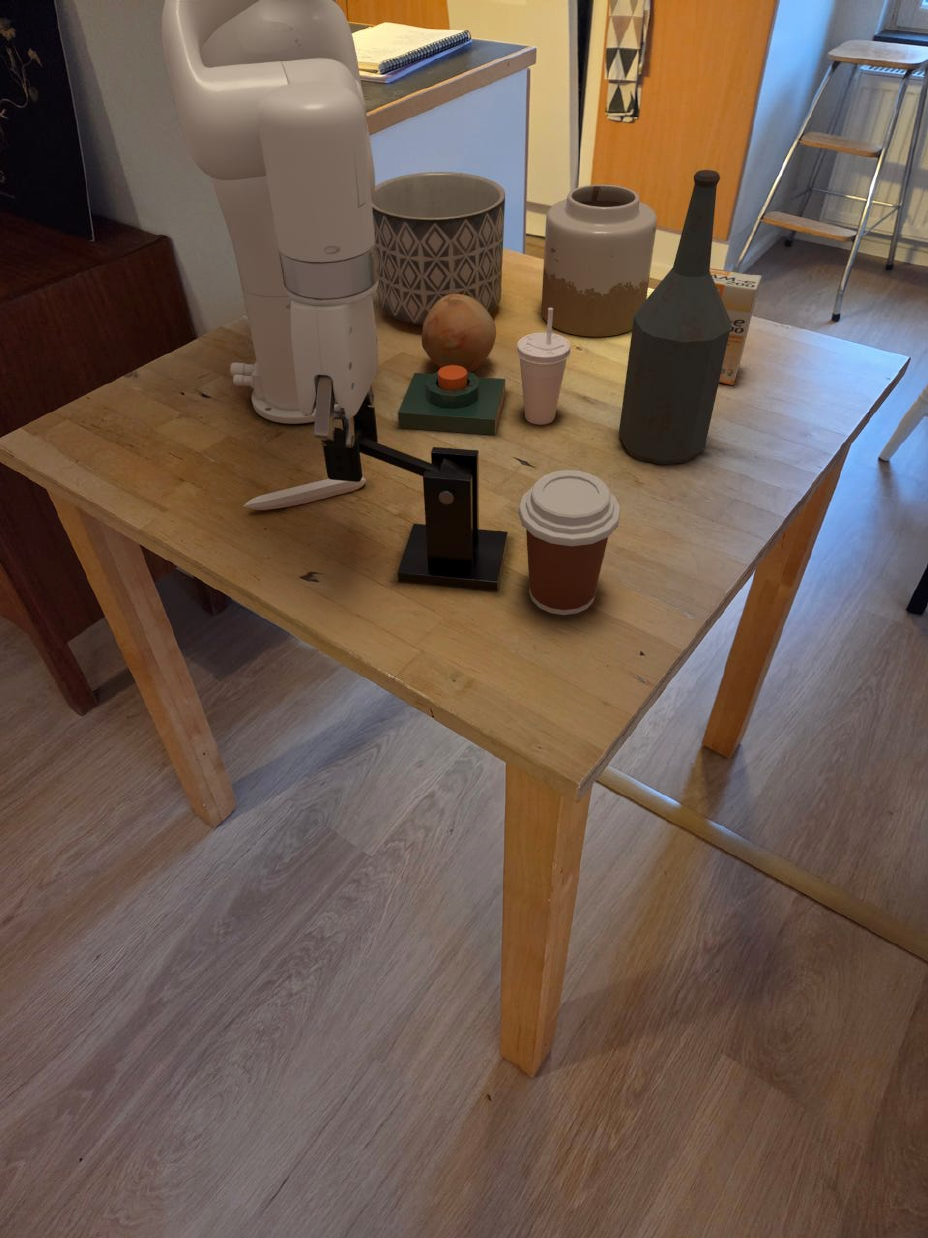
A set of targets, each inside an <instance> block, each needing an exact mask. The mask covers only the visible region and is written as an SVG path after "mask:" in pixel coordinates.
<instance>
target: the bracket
mask: <svg viewBox="0 0 928 1238" xmlns="http://www.w3.org/2000/svg"><path fill="white" fill-rule="evenodd" d="M479 453H480V451H479V450H478V449H468V448H467V449H465V448H453V447H440V446H439V447H438V446H432V448H431V451H430V461H431V462H430V463H431V464H434V465H437V466H439V467H440V466H441V463H442V461H443V458H445V459H448V460H450V461H453V462H456V463H458V464H461V465H463V466H466V467H469V468H471V472H470V474H458V473H446V472H433V471H425V472H424V475H423V476H422V486H423V487H422V488H423V503H424V504H423V505H424V521H425V523H413V524H412V527H411V529H410V532H409V536H408V539H407V542H406V545H405V547H404V551H403V554H402V556H401V557H402V558H401V560H400V563H399V566H398V569H397V573H396V574H397V582H398V583H399V582H400V583H401V582H402V583H411V584H421V585H428V586H429V585H430V586H440V587H451V588H460V589H470V590H480V591H481V590H482V591H492V592H498V590H499V585H500V580H501V574H502V571H503V570H502V569H503V564H504V561H505V560H504V559H505V554H506V549H507V544H508V534H509V533H508V531H506V530H505V531H504V530H492V529H481V528H480V500H479V499H480V495H479V494H480V489H479V487H480V484H479V483H480V482H479V480H480V479H479V478H480V474H479V471H480V469H479V466H480V465H479V464H480V463H479V460H480V459H479V455H480V454H479Z"/></svg>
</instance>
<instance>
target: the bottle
mask: <svg viewBox="0 0 928 1238" xmlns="http://www.w3.org/2000/svg"><path fill="white" fill-rule="evenodd" d="M720 180H721V176H720V173H719V172H718V171H716V170H712V169H701V170H698V171H696V172H695V173H694V175H693V184H694V186H693V188H692V192H691V195H690V200H689V204H688V207H687V212H686V215H685V219H684V223H683V227H682V231H681V234H680V239H679V242H678V246H677V250H676V254H675V257H674V258H675V259H674V262H673V265H672V267H671V269H670V270H669V271H668V273H667V274H666V275H665V276H664V277H663V279H662V280H660V282H659V283H658V284H657V286H656V287H655V288H654V289H653V291H652V292H651V293H650V294H649V295H648V296H647V299H646V300H645V302H644V303H643V304H642V305H641V306H640V308H639V309H638V310H637V311H636V313H635V316H634V320H633V327H632V330H631V337H630V344H629V352H628V360H627V365H626V372H625V373H626V376H625V382H624V389H623V398H622V404H621V412H620V420H619V429H618V435H619V437H620V439H621V441H622V443H623V446H624V447H625V449H626V451H627V452H628V454H630V455H631V456H632V457H634V458H636V459H637V460H640V461H641V460H642V461H645V462H648V463H653V464H656V465H657V464H658V465H660V466H662V465H663V466H664V465H673V464H674V465H675V464H683V463H687V462H688V461H689V460H691V459H692V458H694V457H695V456H696V455H698V454H699V453H701V452H702V451H703V450H704V449H705V448H706V444H707V439H708V434H709V430H710V425H711V421H712V417H713V412H714V406H715V403H716V398H717V394H718V393H717V392H718V388H719V385H720V382H719V380H720V375H721V370H722V366H723V361H724V356H725V352H726V347H727V342H728V338H729V333H730V328H731V324H732V323H731V321H730V318H729V316H728V313H727V311H726V309H725V306H724V304H723V302H722V299H721V297H720V294H719V292H718V290H717V287H716V285H715V282H714V280H713V278H712V275H711V273H710V268H711V259H712V249H713V247H712V246H713V236H714V235H713V234H714V226H715V225H714V224H715V223H714V222H715V211H716V199H717V189H718V188H717V187H718V184H719V182H720Z"/></svg>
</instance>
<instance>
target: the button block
mask: <svg viewBox="0 0 928 1238" xmlns="http://www.w3.org/2000/svg"><path fill="white" fill-rule="evenodd" d="M505 396H506V379H505V378H500V377H499V378H497V377H483V376H477V375H476V374H475V373H473V372H468V371H467V387H466V388H464V389H461V390H456V391H450V390H444V389H441V388H439V386H438V371H436V372H434V373H421V372H414V373H413V374H412V377H411V380H410V382H409V384H408V387H407V389H406V392H405V394H404V397H403V399H402V401H401V404H400V407H399V408H398V411H397V418H398V428H399V429H409V430H421V431H422V430H423V431H434V432H435V431H436V432H449V433H463V434H476V435H489V436H495V435H496V433H497V429H498V424H499V420H500V416H501V412H502V408H503V404H504V400H505Z"/></svg>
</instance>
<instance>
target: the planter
mask: <svg viewBox="0 0 928 1238" xmlns="http://www.w3.org/2000/svg"><path fill="white" fill-rule="evenodd" d="M505 209H506V192H505V189H504V187H502V185H500V184H499V183H497V182H496V181H494V180H491V179H489V178H486V177H484V176H480V175H475V174H470V173H462V172H453V171H452V172H451V171H433V172H432V171H429V172H428V171H427V172H418V173H410V174H405V175H401V176H397V177H393V178H390V179H387V180H384V181H381V182H380V183H378V184H375V194H374V198H373V201H372V212H373V223H374V235H375V248H376V259H377V271H378V287H377V289H376V291H377V300H378V304H379V306H380V308H381V309H382V311H384V312H385V313H386V314H387V315H388V316H390V317H391V318H394V319H395V320H398V321H401V322H403V323H406V324H410V325H411V324H412V325H417V326H423V325H424V322H425V319H426V317H427V315H428V313H429V311H430V310H431V308H432V307H433V306H434V305H435V304H436V303H437V302H438V301H439V300H440V299H441V298H442V297H444V296H446V295H449V294H462V295H466V296H469V297H471V298H473V299H475V300H476V301H478V302H479V303H480V304H481V305H482V306H483V307H484V308H485V309H486V310H487V311H488V313H489V314H490V313H492V312H493V311H495V309H496V308H497V307H498V306H499V304H500V301H501V299H502V298H501V297H502V281H503V259H504V258H503V256H504V234H505V231H504V230H505V213H506V212H505Z"/></svg>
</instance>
